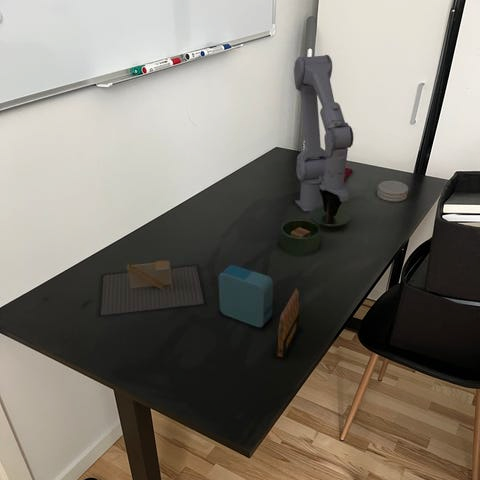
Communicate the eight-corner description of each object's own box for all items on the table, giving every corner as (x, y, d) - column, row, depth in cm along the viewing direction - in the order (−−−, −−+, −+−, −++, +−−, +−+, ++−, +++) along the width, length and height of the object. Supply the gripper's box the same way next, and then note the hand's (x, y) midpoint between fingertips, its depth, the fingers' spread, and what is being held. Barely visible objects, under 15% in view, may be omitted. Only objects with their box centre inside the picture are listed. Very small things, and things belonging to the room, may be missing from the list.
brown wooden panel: (290, 327, 117) (293, 285, 109) (298, 329, 116) (302, 287, 109) (275, 356, 109) (277, 313, 102) (283, 358, 109) (286, 315, 101)
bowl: (308, 232, 151) (310, 216, 148) (325, 251, 143) (327, 234, 140) (274, 239, 149) (275, 223, 145) (289, 258, 140) (290, 241, 137)
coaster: (377, 188, 175) (379, 178, 173) (407, 191, 173) (409, 181, 171) (375, 200, 168) (377, 190, 166) (406, 203, 166) (408, 194, 164)
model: (172, 290, 129) (169, 265, 124) (130, 294, 128) (126, 269, 123) (172, 283, 131) (169, 258, 127) (130, 287, 130) (126, 262, 125)
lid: (337, 206, 158) (339, 191, 155) (356, 224, 150) (359, 208, 146) (303, 213, 155) (304, 197, 152) (320, 230, 147) (322, 215, 143)
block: (298, 239, 148) (299, 227, 145) (309, 243, 146) (310, 231, 143) (289, 244, 146) (290, 232, 143) (300, 249, 143) (301, 236, 141)
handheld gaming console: (314, 178, 179) (328, 164, 189) (314, 182, 180) (327, 167, 190) (340, 183, 176) (352, 168, 186) (340, 187, 176) (352, 171, 187)
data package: (272, 319, 119) (273, 277, 112) (263, 329, 116) (264, 287, 109) (229, 303, 124) (228, 262, 117) (219, 313, 121) (217, 272, 114)
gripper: (311, 162, 147) (307, 205, 156) (334, 182, 137) (329, 226, 145) (332, 159, 149) (328, 201, 158) (357, 178, 138) (350, 222, 147)
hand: (330, 213), depth 152 cm, fingers closed on lid, 2 cm apart
